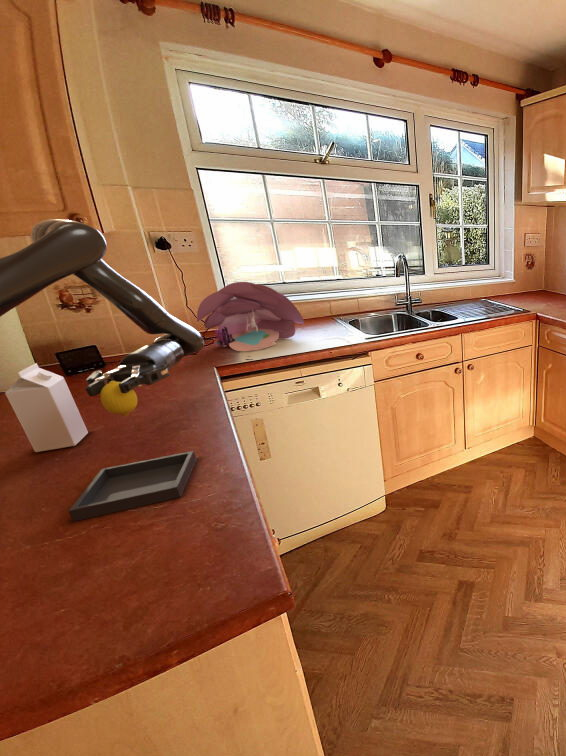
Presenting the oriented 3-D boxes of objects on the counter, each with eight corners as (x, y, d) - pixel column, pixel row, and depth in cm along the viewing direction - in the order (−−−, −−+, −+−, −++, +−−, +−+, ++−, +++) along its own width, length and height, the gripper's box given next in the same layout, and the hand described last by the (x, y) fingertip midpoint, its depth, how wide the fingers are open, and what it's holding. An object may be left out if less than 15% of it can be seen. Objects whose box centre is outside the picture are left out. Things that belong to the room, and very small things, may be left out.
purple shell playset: (218, 369, 162) (190, 301, 146) (205, 345, 176) (177, 280, 161) (311, 342, 182) (294, 279, 166) (292, 323, 196) (275, 263, 180)
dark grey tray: (73, 521, 74) (68, 510, 73) (105, 478, 86) (101, 468, 86) (180, 497, 80) (176, 487, 79) (196, 459, 92) (193, 450, 92)
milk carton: (35, 453, 96) (-5, 375, 89) (51, 439, 102) (15, 365, 95) (75, 446, 99) (40, 370, 92) (88, 433, 105) (56, 360, 98)
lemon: (106, 424, 87) (90, 388, 83) (112, 414, 91) (97, 379, 88) (140, 417, 89) (126, 382, 86) (144, 407, 94) (131, 374, 90)
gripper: (107, 350, 97) (54, 377, 82) (179, 345, 100) (141, 369, 85) (119, 381, 100) (70, 411, 85) (188, 374, 103) (153, 403, 88)
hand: (106, 390), depth 85 cm, fingers closed on lemon, 5 cm apart
